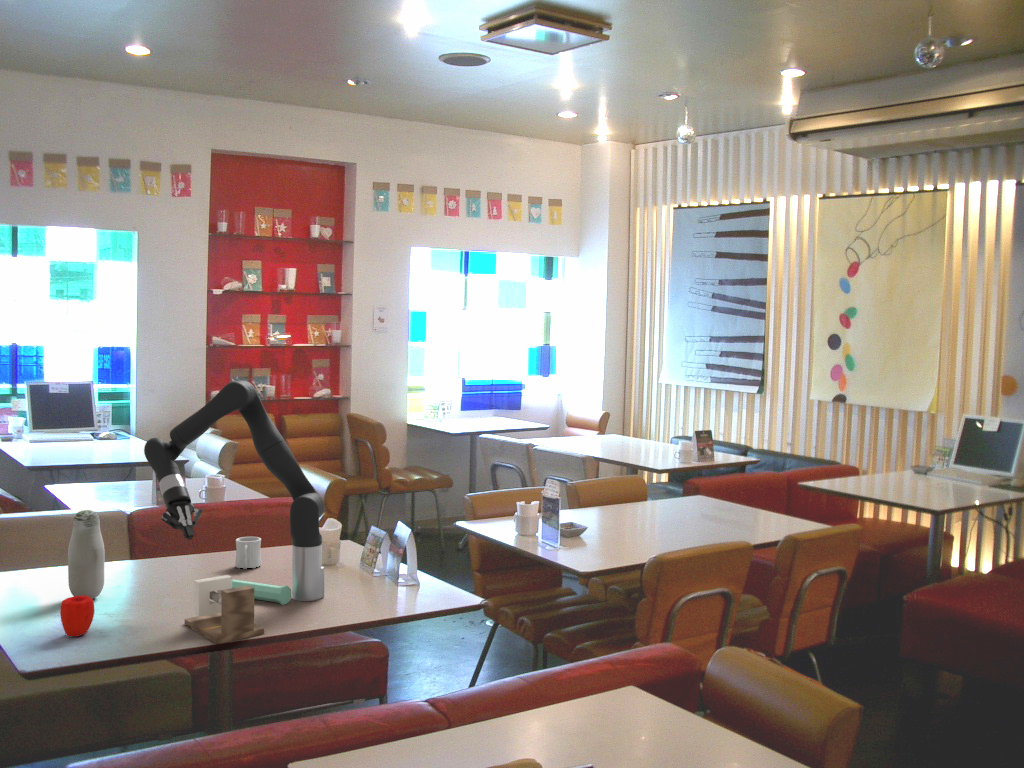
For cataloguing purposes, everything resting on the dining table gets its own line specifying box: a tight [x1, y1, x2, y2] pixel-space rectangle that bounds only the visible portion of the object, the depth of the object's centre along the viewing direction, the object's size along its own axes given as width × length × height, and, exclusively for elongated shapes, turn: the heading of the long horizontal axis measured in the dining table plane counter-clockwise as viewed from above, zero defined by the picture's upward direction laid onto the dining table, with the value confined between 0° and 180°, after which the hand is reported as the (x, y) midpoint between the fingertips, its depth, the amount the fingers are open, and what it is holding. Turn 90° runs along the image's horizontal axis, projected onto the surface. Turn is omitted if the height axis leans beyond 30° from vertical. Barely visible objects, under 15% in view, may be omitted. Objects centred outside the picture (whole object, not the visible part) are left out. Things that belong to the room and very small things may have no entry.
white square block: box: [194, 574, 233, 617], centre depth 280 cm, size 10×3×10 cm, turn 131°
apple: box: [59, 596, 95, 637], centre depth 267 cm, size 9×9×11 cm
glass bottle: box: [67, 509, 106, 600], centre depth 301 cm, size 10×10×28 cm
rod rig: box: [184, 585, 265, 644], centre depth 274 cm, size 14×22×14 cm, turn 41°
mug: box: [234, 536, 262, 570], centre depth 344 cm, size 12×9×10 cm
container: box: [232, 578, 292, 606], centre depth 306 cm, size 6×6×25 cm
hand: (190, 538), depth 292 cm, fingers closed
